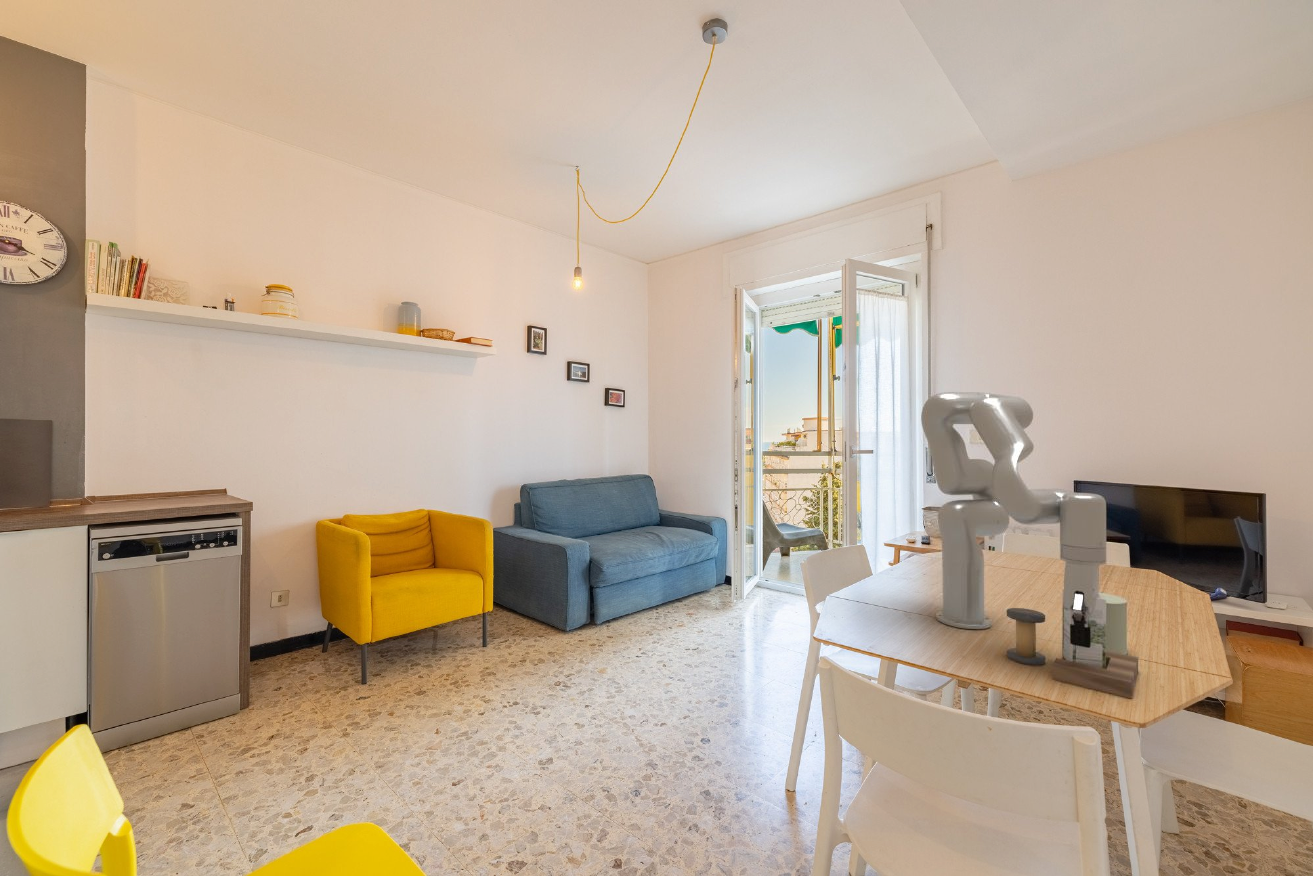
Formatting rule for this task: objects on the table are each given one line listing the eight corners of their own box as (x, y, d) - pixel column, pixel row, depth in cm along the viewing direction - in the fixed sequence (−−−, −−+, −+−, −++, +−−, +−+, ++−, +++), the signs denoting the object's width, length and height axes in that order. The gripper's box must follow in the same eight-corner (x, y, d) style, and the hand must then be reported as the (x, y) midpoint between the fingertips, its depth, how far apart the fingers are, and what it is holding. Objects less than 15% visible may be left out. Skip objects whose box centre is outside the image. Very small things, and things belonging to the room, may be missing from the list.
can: (1066, 640, 131) (1066, 589, 131) (1106, 640, 131) (1106, 589, 131) (1095, 655, 122) (1095, 601, 122) (1139, 655, 122) (1138, 601, 122)
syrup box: (1094, 659, 115) (1094, 589, 115) (1106, 671, 110) (1106, 597, 110) (1061, 656, 117) (1061, 587, 117) (1072, 667, 112) (1072, 595, 112)
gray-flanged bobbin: (1010, 650, 125) (1010, 605, 125) (1048, 658, 121) (1048, 612, 120) (1003, 659, 120) (1003, 613, 120) (1042, 668, 115) (1041, 620, 115)
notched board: (1066, 655, 122) (1066, 642, 122) (1138, 671, 114) (1138, 657, 114) (1052, 679, 111) (1052, 664, 111) (1131, 698, 102) (1131, 682, 102)
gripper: (1067, 545, 122) (1067, 625, 122) (1052, 558, 110) (1053, 647, 110) (1111, 549, 117) (1111, 633, 117) (1100, 564, 105) (1101, 657, 105)
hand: (1083, 639), depth 113 cm, fingers closed on syrup box, 7 cm apart
